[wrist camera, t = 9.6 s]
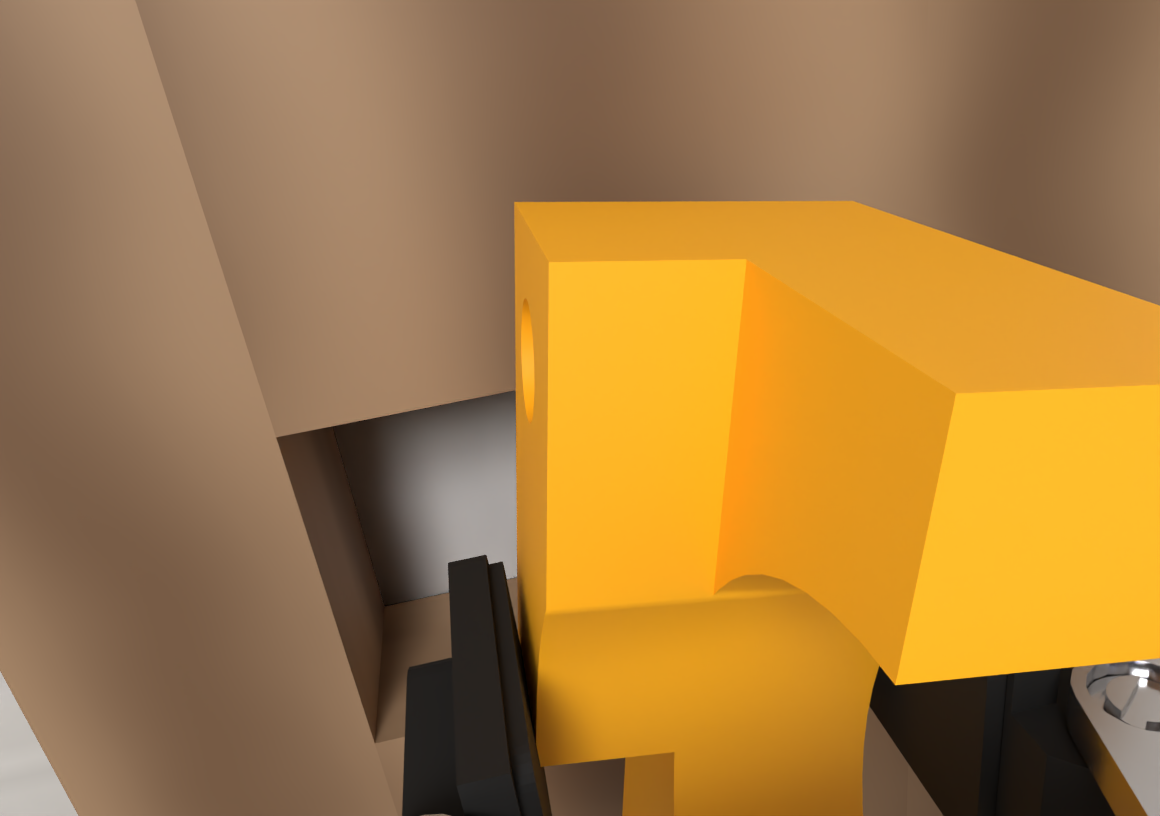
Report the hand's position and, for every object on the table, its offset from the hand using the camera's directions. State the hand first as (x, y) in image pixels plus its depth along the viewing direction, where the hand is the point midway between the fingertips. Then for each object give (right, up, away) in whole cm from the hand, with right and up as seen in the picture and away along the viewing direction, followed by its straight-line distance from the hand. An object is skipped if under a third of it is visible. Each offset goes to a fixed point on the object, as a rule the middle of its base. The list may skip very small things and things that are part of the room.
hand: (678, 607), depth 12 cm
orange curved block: (0, 0, +1) cm, 1 cm away
